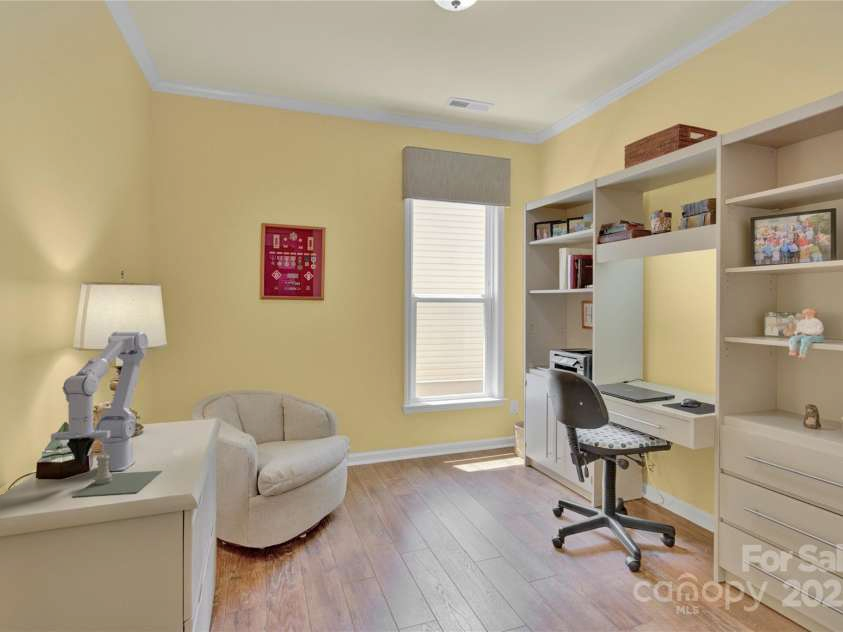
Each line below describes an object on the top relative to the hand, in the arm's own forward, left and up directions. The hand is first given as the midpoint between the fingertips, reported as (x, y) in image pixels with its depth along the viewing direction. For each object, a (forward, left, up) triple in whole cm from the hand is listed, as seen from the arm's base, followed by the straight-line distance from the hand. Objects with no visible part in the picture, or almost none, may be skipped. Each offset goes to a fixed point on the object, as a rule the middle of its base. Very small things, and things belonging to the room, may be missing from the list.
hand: (81, 464), depth 136 cm
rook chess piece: (0, +6, -6) cm, 8 cm away
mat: (+1, +11, -6) cm, 12 cm away
